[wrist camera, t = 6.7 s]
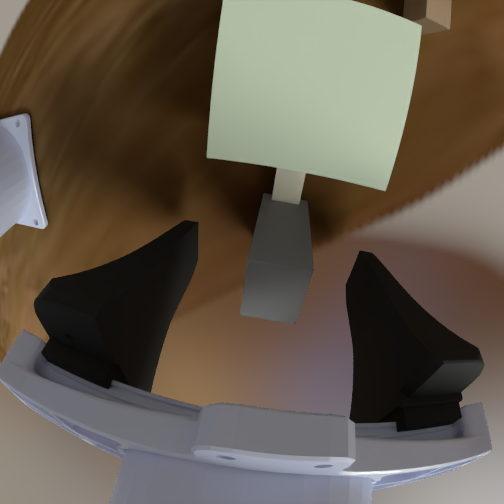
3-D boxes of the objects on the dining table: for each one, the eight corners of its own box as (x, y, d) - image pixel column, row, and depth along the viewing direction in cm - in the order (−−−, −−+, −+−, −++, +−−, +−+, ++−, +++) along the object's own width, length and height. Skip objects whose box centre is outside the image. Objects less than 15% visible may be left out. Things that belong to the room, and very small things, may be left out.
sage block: (250, 18, 8) (220, -22, 4) (375, 42, 8) (430, 23, 4) (226, 234, 14) (199, 306, 10) (325, 251, 14) (334, 328, 10)
